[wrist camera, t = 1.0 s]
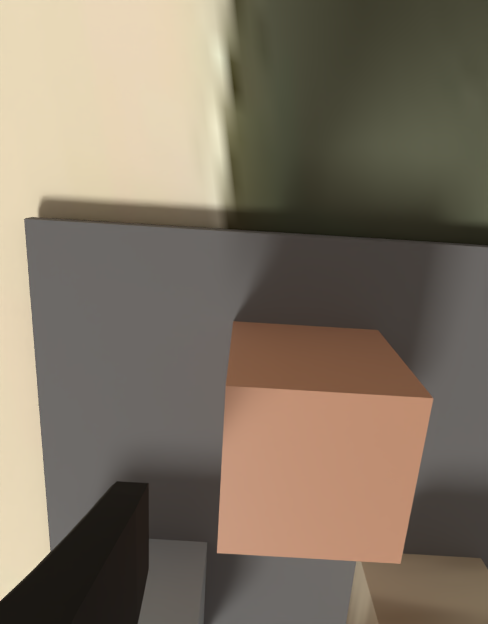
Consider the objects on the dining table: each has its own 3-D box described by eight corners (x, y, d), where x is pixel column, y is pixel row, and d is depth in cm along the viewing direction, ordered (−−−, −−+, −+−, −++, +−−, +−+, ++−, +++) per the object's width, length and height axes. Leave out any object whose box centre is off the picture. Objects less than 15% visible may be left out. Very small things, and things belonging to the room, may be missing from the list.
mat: (471, 679, 19) (477, 692, 19) (64, 655, 19) (59, 668, 19) (591, 251, 14) (603, 254, 13) (31, 217, 14) (24, 218, 13)
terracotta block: (358, 455, 16) (400, 563, 11) (226, 447, 15) (216, 553, 11) (378, 329, 14) (433, 398, 10) (233, 321, 14) (225, 386, 10)
